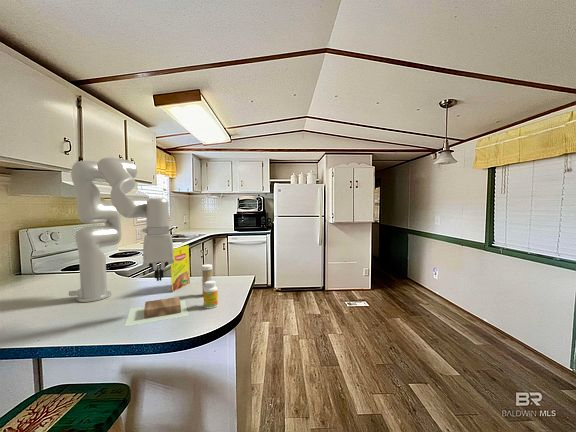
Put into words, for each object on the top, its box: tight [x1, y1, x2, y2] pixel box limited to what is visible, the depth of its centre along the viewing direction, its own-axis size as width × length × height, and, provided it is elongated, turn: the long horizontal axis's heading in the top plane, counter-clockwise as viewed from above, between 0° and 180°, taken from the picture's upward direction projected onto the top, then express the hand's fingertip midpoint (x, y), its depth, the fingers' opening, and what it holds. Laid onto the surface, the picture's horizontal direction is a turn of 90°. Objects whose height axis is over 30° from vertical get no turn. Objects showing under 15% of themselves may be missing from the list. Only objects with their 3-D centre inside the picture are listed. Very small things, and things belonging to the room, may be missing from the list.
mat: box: [124, 299, 189, 327], centre depth 103 cm, size 20×18×1 cm
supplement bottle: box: [203, 280, 219, 309], centre depth 109 cm, size 5×5×10 cm
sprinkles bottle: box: [201, 263, 213, 297], centre depth 123 cm, size 5×5×13 cm
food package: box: [170, 244, 191, 293], centre depth 135 cm, size 15×1×20 cm, turn 168°
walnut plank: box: [144, 296, 181, 319], centre depth 104 cm, size 3×10×12 cm
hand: (159, 279), depth 104 cm, fingers closed
